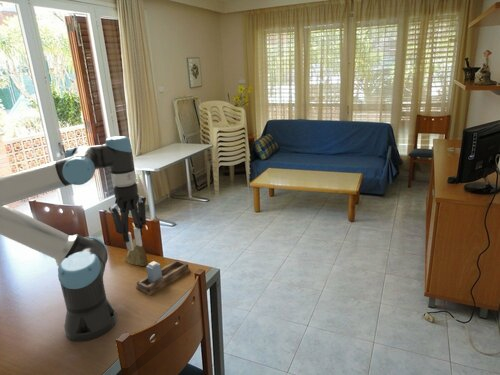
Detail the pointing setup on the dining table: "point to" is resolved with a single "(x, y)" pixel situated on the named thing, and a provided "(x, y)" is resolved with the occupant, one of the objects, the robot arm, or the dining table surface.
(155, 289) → the wooden tray
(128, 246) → the robot arm
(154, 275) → the rider
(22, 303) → the dining table surface
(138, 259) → the rock
